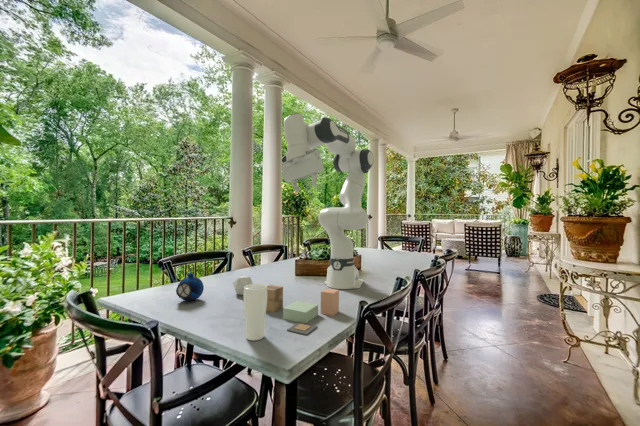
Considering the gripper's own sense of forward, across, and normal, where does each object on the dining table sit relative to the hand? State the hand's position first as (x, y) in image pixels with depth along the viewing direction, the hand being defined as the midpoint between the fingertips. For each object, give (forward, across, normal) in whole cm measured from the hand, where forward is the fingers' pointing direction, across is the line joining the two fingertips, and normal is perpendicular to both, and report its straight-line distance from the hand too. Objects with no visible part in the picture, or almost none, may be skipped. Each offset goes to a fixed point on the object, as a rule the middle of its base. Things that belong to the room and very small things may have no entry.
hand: (305, 188), depth 117 cm
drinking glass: (+44, -5, +36) cm, 57 cm away
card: (+46, -10, +22) cm, 52 cm away
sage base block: (+46, -2, +15) cm, 48 cm away
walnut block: (+43, +12, +17) cm, 48 cm away
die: (+40, +35, +14) cm, 55 cm away
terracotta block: (+47, -6, +4) cm, 48 cm away
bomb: (+36, +41, +35) cm, 65 cm away
